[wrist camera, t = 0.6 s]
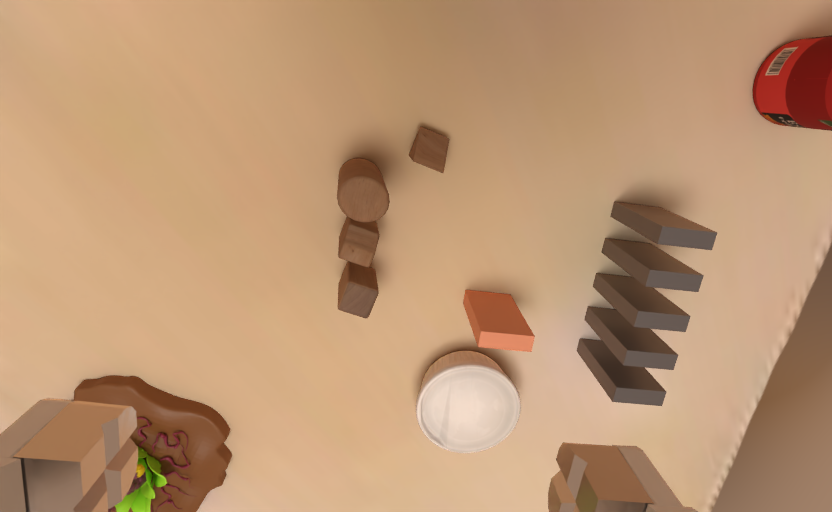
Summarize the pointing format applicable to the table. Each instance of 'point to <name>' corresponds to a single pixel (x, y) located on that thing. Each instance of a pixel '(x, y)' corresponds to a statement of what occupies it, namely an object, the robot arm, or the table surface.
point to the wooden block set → (371, 219)
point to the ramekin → (467, 403)
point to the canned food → (797, 84)
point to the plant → (166, 445)
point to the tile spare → (497, 321)
